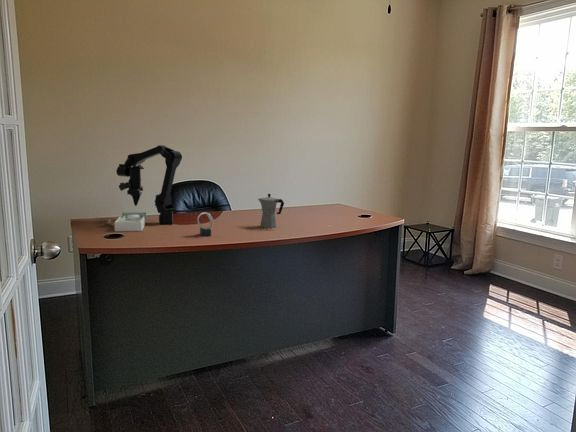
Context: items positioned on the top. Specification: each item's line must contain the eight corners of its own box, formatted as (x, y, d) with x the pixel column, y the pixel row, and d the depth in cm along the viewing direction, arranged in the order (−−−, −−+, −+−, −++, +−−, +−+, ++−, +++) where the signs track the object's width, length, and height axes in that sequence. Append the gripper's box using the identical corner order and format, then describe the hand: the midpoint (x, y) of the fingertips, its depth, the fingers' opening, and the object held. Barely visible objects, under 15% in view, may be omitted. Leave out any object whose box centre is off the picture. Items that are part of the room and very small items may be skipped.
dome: (139, 218, 243) (139, 214, 243) (139, 219, 238) (139, 216, 237) (127, 218, 241) (127, 214, 241) (127, 220, 236) (127, 216, 236)
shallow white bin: (144, 225, 237) (144, 216, 237) (141, 231, 222) (141, 222, 221) (119, 225, 235) (119, 216, 234) (114, 231, 219) (114, 222, 219)
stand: (111, 225, 233) (111, 218, 232) (110, 227, 229) (110, 220, 229) (103, 225, 232) (103, 218, 232) (102, 227, 228) (101, 220, 228)
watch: (214, 235, 217) (215, 213, 216) (198, 236, 215) (198, 213, 213) (212, 233, 223) (212, 211, 221) (196, 234, 220) (196, 211, 218)
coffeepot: (253, 226, 244) (254, 193, 241) (261, 223, 252) (262, 191, 249) (279, 229, 238) (280, 195, 235) (286, 226, 246) (287, 194, 243)
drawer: (146, 219, 246) (146, 212, 245) (143, 224, 231) (143, 217, 230) (122, 219, 244) (122, 212, 243) (117, 225, 228) (117, 217, 228)
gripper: (122, 175, 254) (123, 203, 256) (116, 178, 236) (117, 208, 238) (142, 176, 256) (143, 203, 259) (139, 178, 238) (139, 208, 241)
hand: (135, 205), depth 249 cm, fingers closed
